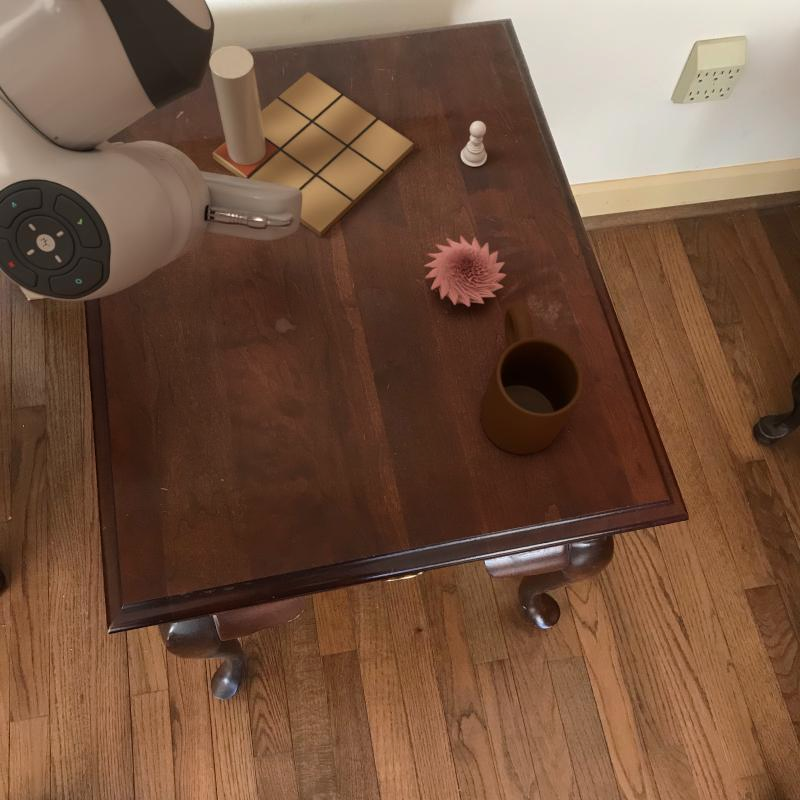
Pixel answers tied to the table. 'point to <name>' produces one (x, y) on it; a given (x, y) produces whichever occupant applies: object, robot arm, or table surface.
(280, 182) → the board
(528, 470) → the table surface
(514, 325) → the mug
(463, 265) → the flower
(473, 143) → the chess pawn
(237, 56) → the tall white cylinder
